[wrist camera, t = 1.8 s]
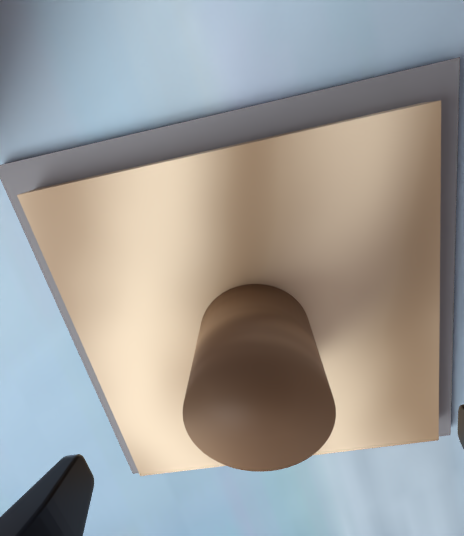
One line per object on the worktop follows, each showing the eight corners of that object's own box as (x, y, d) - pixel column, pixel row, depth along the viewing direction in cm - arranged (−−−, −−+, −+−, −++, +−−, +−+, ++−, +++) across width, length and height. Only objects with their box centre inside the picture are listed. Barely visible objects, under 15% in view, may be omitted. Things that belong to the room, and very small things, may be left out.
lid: (424, 102, 11) (559, 87, 6) (426, 421, 16) (503, 547, 11) (33, 189, 12) (-95, 230, 8) (146, 456, 17) (109, 581, 12)
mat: (452, 59, 11) (459, 57, 10) (445, 427, 16) (450, 434, 16) (2, 164, 12) (-6, 166, 12) (135, 466, 18) (132, 473, 17)
